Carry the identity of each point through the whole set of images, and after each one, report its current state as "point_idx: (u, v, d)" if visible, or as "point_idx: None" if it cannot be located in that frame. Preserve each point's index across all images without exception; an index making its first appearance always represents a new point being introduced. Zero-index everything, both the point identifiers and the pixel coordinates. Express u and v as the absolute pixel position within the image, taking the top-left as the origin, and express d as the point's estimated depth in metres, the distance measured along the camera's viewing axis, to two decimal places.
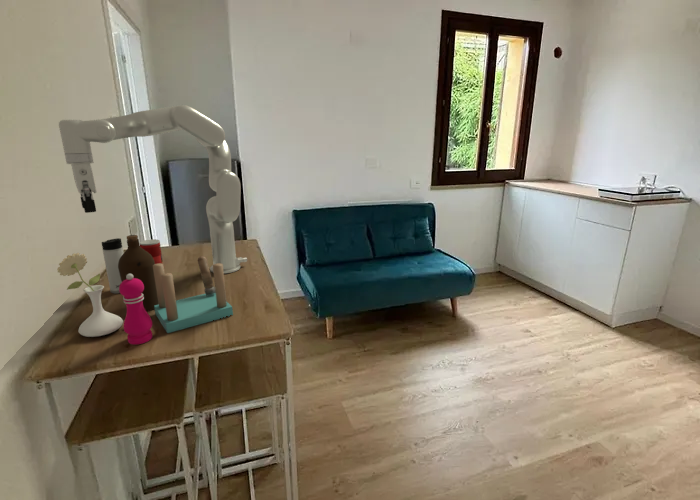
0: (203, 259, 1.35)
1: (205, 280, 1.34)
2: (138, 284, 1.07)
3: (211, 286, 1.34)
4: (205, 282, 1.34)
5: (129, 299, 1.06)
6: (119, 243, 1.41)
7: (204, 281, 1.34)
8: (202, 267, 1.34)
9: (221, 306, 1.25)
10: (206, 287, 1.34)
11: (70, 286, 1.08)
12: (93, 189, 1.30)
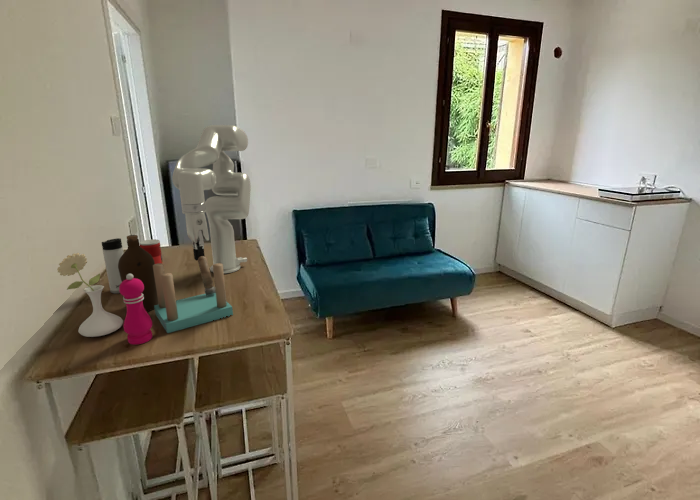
0: (203, 259, 1.35)
1: (205, 280, 1.34)
2: (138, 284, 1.07)
3: (211, 286, 1.34)
4: (205, 282, 1.34)
5: (129, 299, 1.06)
6: (119, 243, 1.41)
7: (204, 281, 1.34)
8: (202, 267, 1.34)
9: (221, 306, 1.25)
10: (206, 287, 1.34)
11: (70, 286, 1.08)
12: (207, 237, 1.33)
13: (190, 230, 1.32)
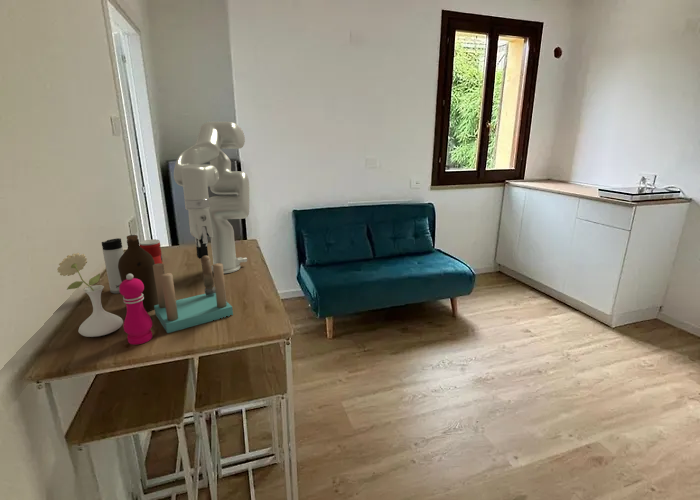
0: (207, 260, 1.31)
1: (206, 282, 1.33)
2: (138, 284, 1.07)
3: (212, 287, 1.34)
4: (206, 283, 1.33)
5: (129, 299, 1.06)
6: (119, 243, 1.41)
7: (205, 282, 1.33)
8: (205, 268, 1.32)
9: (221, 306, 1.25)
10: (207, 288, 1.33)
11: (70, 286, 1.08)
12: (211, 234, 1.29)
13: (193, 227, 1.29)
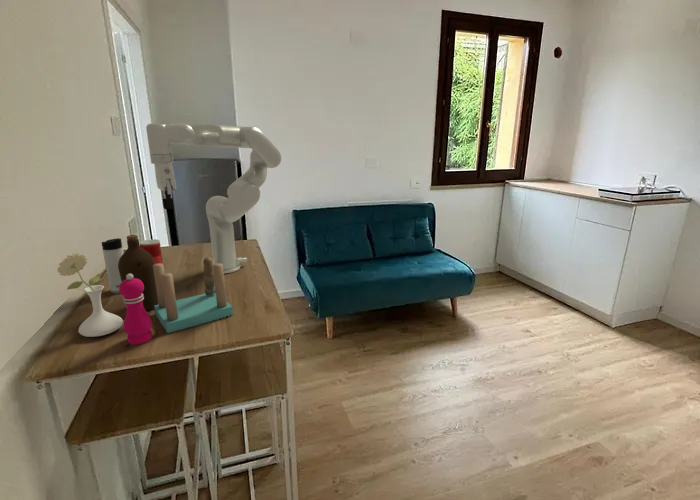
0: (209, 263, 1.30)
1: (207, 283, 1.32)
2: (138, 284, 1.07)
3: (212, 288, 1.34)
4: (207, 284, 1.32)
5: (129, 299, 1.06)
6: (119, 243, 1.41)
7: (206, 283, 1.32)
8: (207, 270, 1.30)
9: (221, 306, 1.25)
10: (207, 289, 1.33)
11: (70, 286, 1.08)
12: (174, 186, 1.43)
13: (158, 179, 1.42)
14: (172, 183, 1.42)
